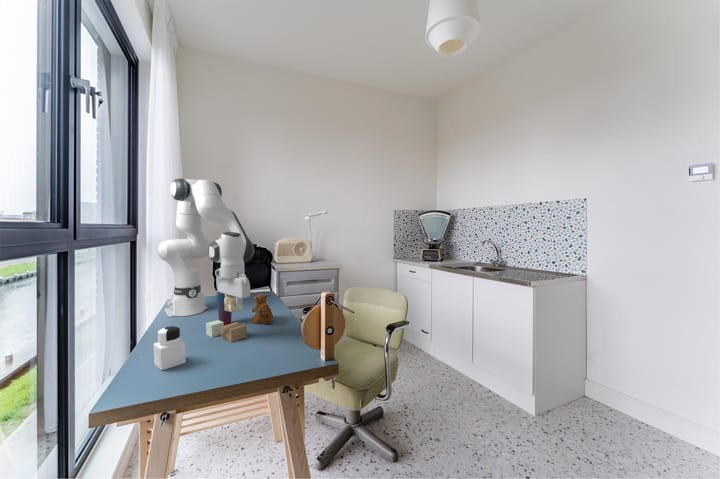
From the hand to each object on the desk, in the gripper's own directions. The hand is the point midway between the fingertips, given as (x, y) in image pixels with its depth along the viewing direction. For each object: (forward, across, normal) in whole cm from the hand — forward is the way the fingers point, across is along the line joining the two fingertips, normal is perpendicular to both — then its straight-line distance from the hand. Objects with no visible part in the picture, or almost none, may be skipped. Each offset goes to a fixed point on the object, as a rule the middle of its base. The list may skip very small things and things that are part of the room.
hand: (233, 305), depth 119 cm
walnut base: (+13, 0, 0) cm, 13 cm away
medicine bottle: (+14, -5, +25) cm, 29 cm away
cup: (+13, +19, -6) cm, 24 cm away
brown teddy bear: (+13, +8, -19) cm, 24 cm away
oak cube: (+2, 0, 0) cm, 2 cm away
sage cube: (+13, +10, +3) cm, 17 cm away
